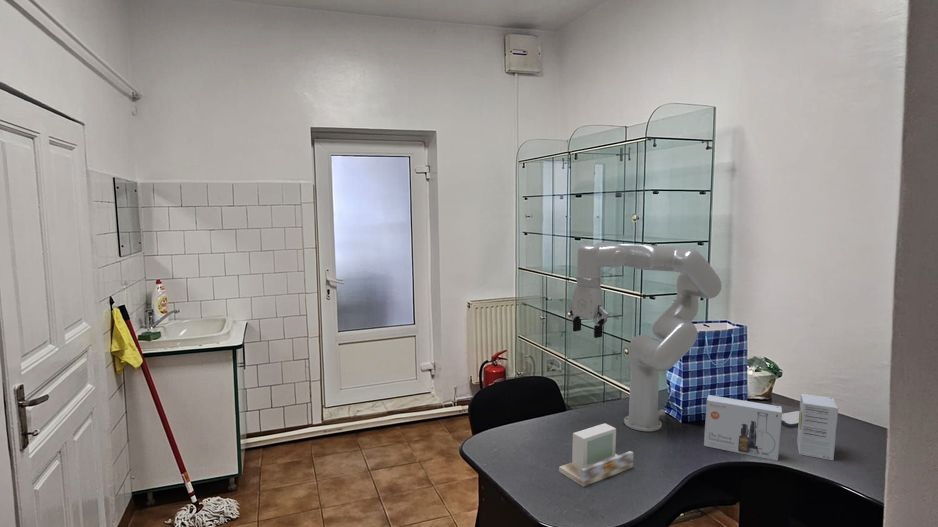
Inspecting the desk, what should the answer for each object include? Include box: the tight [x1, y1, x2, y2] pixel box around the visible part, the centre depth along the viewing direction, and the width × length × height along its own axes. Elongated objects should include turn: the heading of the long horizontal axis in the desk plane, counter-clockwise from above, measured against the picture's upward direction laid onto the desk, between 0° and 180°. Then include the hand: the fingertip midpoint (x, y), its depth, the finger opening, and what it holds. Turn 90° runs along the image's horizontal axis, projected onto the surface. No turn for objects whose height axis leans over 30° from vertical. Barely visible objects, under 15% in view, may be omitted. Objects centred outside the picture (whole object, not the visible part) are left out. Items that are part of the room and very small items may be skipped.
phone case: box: [781, 410, 800, 429], centre depth 198 cm, size 9×2×16 cm
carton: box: [571, 422, 617, 471], centre depth 163 cm, size 5×13×10 cm, turn 123°
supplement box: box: [796, 393, 839, 461], centre depth 173 cm, size 10×9×17 cm
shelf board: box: [558, 450, 634, 487], centre depth 163 cm, size 20×10×5 cm, turn 123°
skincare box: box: [703, 394, 783, 462], centre depth 174 cm, size 21×6×16 cm, turn 62°
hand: (587, 334), depth 183 cm, fingers open, 9 cm apart
